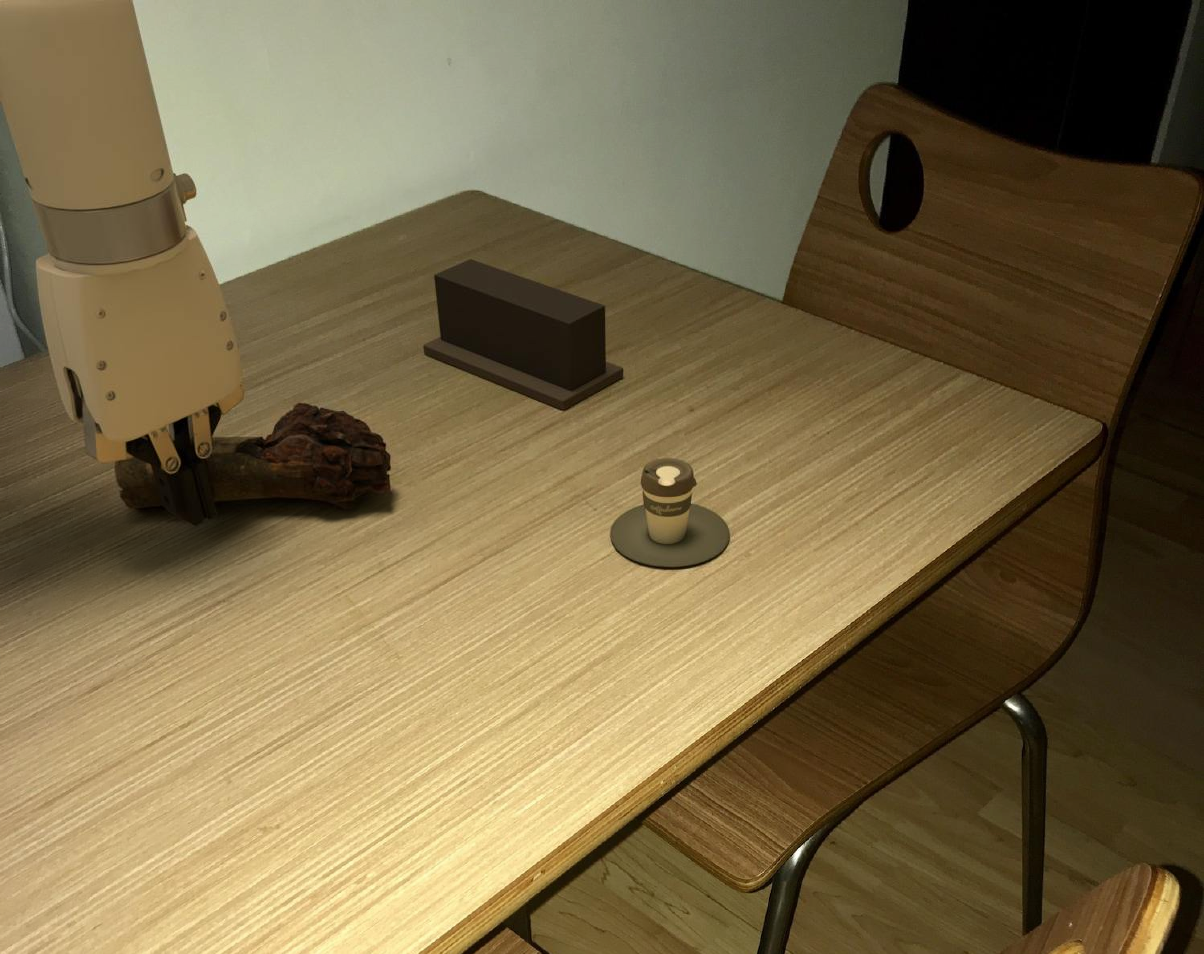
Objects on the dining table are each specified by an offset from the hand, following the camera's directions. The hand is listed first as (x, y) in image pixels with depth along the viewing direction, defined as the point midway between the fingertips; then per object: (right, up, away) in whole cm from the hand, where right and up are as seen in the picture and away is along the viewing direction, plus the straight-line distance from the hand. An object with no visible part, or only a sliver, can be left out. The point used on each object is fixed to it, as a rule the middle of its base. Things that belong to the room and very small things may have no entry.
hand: (193, 513), depth 83 cm
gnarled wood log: (+4, +2, +5) cm, 6 cm away
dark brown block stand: (+20, +16, +18) cm, 31 cm away
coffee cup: (+31, -2, 0) cm, 31 cm away
